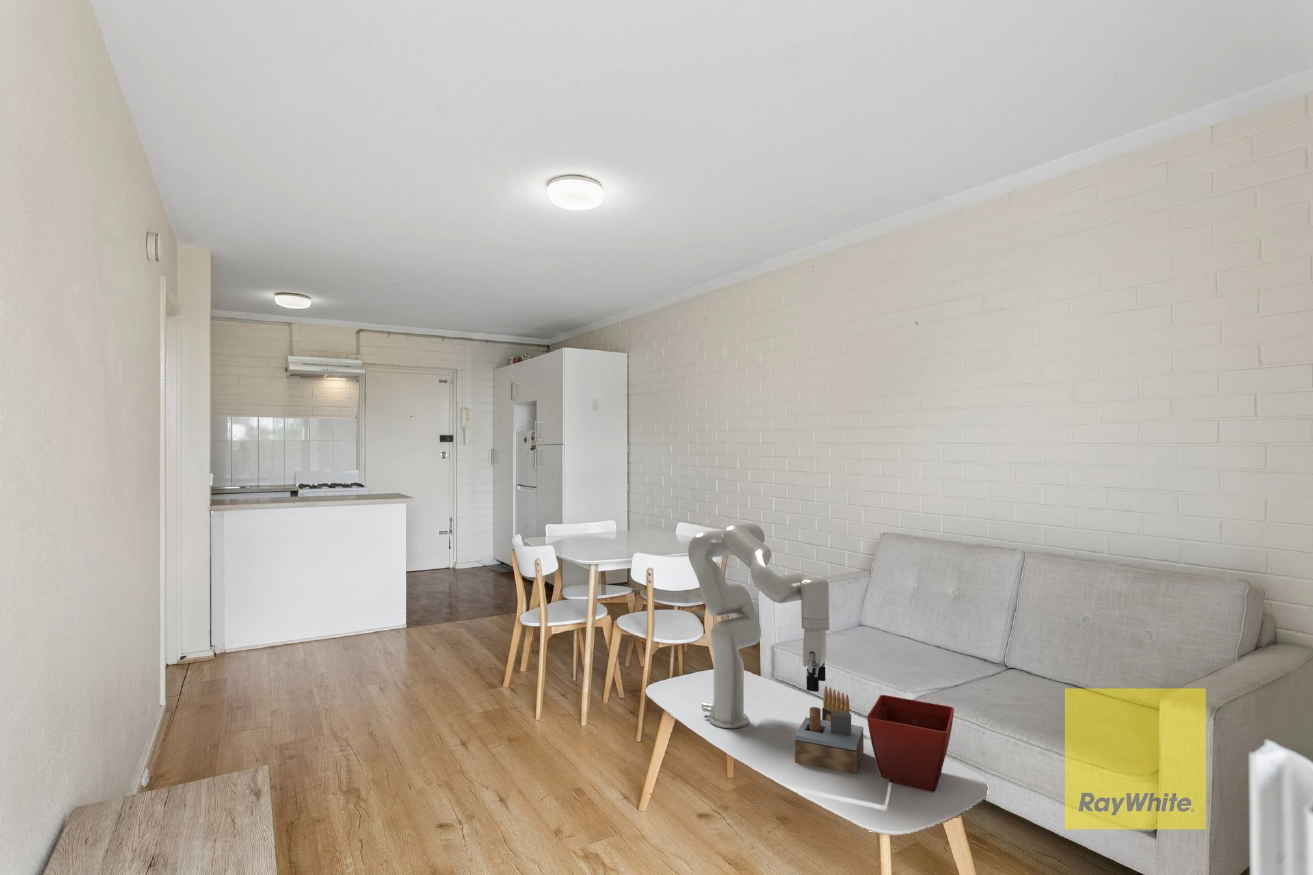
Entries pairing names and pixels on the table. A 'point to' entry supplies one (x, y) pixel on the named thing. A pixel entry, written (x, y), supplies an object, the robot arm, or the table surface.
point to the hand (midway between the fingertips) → (816, 685)
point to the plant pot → (910, 740)
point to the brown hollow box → (829, 756)
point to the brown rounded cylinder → (815, 719)
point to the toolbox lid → (833, 732)
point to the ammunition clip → (834, 703)
